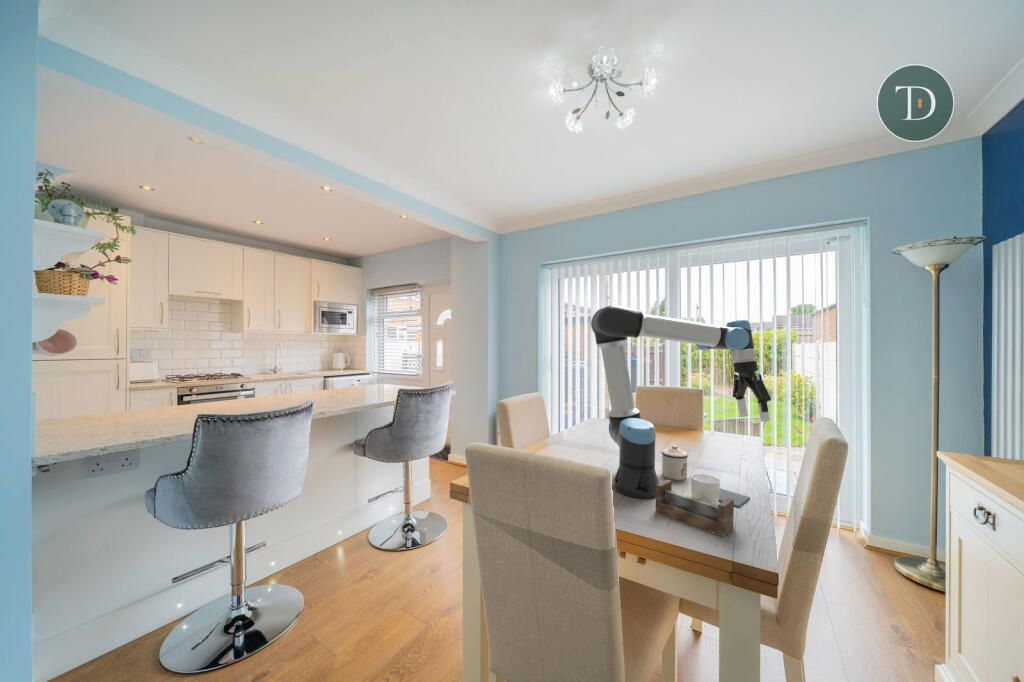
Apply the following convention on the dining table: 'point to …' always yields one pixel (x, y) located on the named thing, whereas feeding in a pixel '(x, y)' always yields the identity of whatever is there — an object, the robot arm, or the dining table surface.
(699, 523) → the offcut rack
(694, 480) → the white cup
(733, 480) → the dining table surface
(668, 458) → the teacup with lid
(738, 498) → the slate mat
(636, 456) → the robot arm
